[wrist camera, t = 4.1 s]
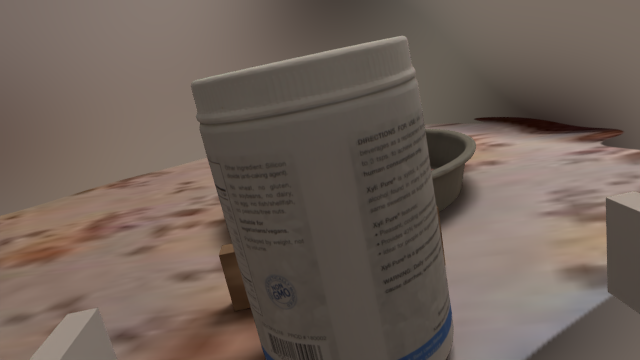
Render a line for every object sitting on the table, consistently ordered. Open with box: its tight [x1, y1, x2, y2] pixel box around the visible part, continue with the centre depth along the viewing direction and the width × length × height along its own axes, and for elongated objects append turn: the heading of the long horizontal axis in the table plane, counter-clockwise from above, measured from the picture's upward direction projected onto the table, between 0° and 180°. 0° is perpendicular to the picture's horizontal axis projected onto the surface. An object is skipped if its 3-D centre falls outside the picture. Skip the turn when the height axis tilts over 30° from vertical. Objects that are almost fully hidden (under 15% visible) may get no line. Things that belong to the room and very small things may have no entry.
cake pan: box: [425, 129, 476, 212], centre depth 46 cm, size 25×25×4 cm
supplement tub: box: [191, 36, 453, 360], centre depth 21 cm, size 10×10×15 cm
